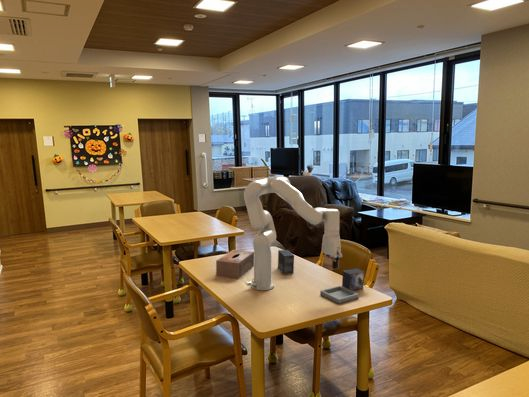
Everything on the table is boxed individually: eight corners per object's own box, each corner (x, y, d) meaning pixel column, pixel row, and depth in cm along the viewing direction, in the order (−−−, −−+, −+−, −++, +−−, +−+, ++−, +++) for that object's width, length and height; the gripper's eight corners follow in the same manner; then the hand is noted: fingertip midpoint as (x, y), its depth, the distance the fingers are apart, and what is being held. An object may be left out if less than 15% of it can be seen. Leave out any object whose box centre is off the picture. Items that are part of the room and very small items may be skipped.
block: (330, 270, 197) (331, 259, 196) (323, 267, 202) (323, 256, 201) (338, 268, 200) (339, 257, 199) (331, 265, 205) (331, 254, 204)
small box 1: (294, 274, 237) (294, 255, 235) (283, 274, 236) (283, 255, 234) (287, 267, 250) (288, 249, 248) (277, 268, 248) (277, 250, 246)
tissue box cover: (238, 279, 227) (238, 263, 226) (216, 276, 232) (216, 260, 230) (253, 266, 251) (254, 251, 250) (233, 264, 256) (233, 249, 254)
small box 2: (348, 292, 208) (349, 274, 207) (341, 288, 214) (342, 270, 213) (363, 289, 213) (364, 271, 212) (356, 285, 219) (356, 267, 217)
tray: (338, 304, 193) (339, 299, 193) (320, 294, 205) (320, 290, 205) (358, 298, 201) (358, 293, 200) (339, 289, 212) (339, 285, 212)
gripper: (315, 230, 203) (315, 263, 206) (338, 237, 189) (337, 272, 191) (326, 229, 207) (325, 261, 210) (349, 235, 193) (348, 269, 195)
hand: (331, 266), depth 201 cm, fingers closed on block, 5 cm apart
